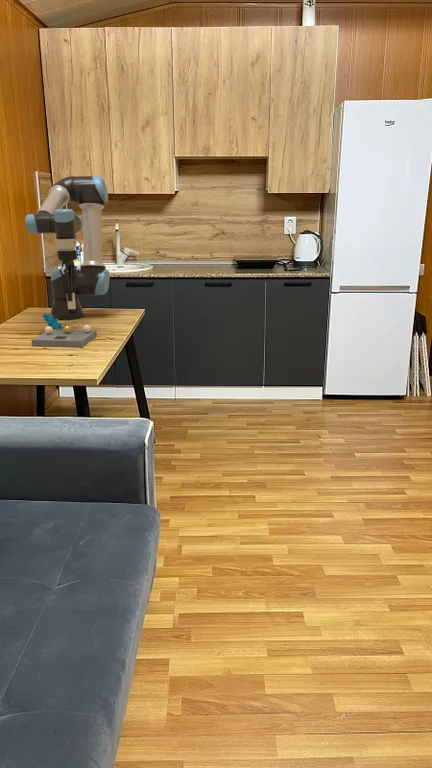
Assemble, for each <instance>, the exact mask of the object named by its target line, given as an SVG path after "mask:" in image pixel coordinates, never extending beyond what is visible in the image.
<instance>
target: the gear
mask: <svg viewBox="0 0 432 768" xmlns="http://www.w3.org/2000/svg"><path fill="white" fill-rule="evenodd" d="M42 318H43V320H44V321H46V324H47V326H50V327H52V328H53V329H56V330H63V328H64V326H62V323H59V321H60V320H58V319H54V317H53V316H52V317H51V313H46V312H44V313H43V315H42Z"/></svg>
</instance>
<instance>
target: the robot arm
mask: <svg viewBox="0 0 432 768" xmlns="http://www.w3.org/2000/svg"><path fill="white" fill-rule="evenodd" d="M107 187H108V186H107V184H106V181H105V179H104V178H103V176H99V175H98V176H95V175H86V176H85V175H81V176H79V175H78V176H74V175H73V176H72V175H71V176H66V177H63V178H60V180H58V181H56V182H54V184H53V185H51V187H50V188H49V190H48V195H47V197H46V198H45V200H44V202H43V203H42V204H41V206H40V207H39V208H38V210H37V211H36V213H35V214H34V213H31V214H27V215H26V216H25V219H24V220H25V221H24V223H25V224H24V225H25V228H26V231H27V232H28V233H30V234H37V235H38V234H55V240H56V242H55V244H56V249H57V252H56V253H57V259H58V261H62V262H61V268H57V269H53V270H52V271H51V272H50V282H51V290H52V299H53V300H52V301H53V302H52V307H51V311H50V317H52V316H53V317H54V319H55V320H56V319H61V320H64V321H68V320H77V319H81V318H83V317H84V310H83V308H82V305H81V302H80V300H79V296H100V295H101V296H103V295H106V293H108V290H109V287H110V278H111V277H110V271H109V270H108V269H107V268H106V267H107V266H106V265H105V264H104V263H103V244H102V243H103V240H102V239H103V237H102V236H103V235H102V234H103V233H102V229H103V228H102V210H103V209H104V208H105V204H107V203H108V201H109V192H108V188H107ZM68 204H78V207H79V208H80V209H81V210H82V212H81V213H82V218H81V216H80V215H78V214H76V213H74V210H73V209H72V208H71V209H70V208H69V209H68V208H67V209H66V208H64V206H66V205H68ZM81 230H82V243H83V244H82V248H83V249H82V250H83V251H82V252H83V253H82V254H83V255H82V256H83V262H82V263H81V264H80V267H79V268H80V269H78V266H77V265H75V260H78V251H77V250H76V249H77V244H78V242H77V239H76V234H77V233H79V232H81ZM61 320H60V321H61Z"/></svg>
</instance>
